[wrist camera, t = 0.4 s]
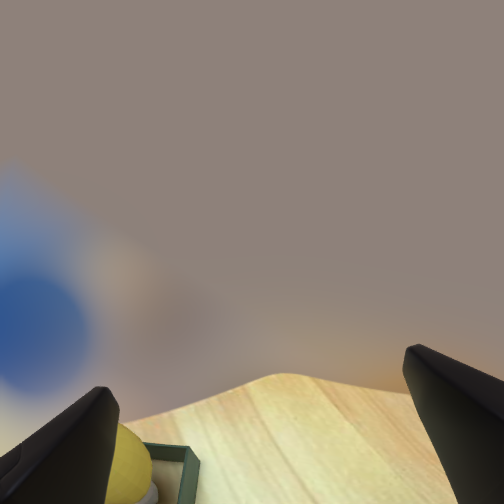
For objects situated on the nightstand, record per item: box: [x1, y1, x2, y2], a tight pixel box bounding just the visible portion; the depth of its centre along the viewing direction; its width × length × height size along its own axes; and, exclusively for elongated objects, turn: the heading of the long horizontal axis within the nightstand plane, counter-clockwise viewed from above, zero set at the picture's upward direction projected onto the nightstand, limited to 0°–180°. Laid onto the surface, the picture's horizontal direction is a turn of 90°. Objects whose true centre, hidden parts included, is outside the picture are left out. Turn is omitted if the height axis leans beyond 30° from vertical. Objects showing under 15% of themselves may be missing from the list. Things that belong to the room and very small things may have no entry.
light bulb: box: [105, 423, 159, 504], centre depth 14 cm, size 7×7×10 cm
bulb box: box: [143, 442, 200, 504], centre depth 15 cm, size 8×8×3 cm
